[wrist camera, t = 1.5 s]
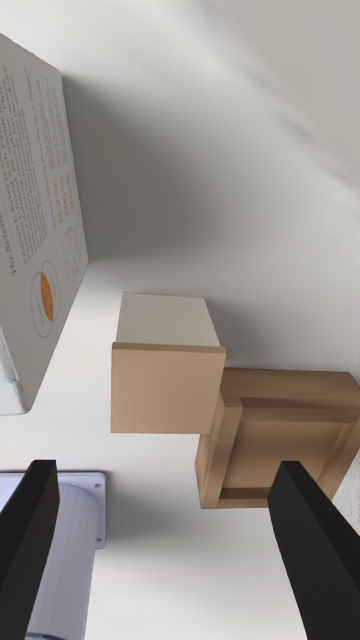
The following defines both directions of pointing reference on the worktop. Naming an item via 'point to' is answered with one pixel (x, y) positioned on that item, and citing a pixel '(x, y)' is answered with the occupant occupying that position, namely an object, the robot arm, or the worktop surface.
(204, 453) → the wooden square tray
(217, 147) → the worktop surface
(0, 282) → the small box
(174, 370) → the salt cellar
